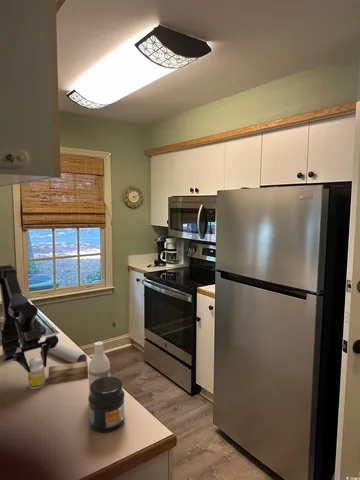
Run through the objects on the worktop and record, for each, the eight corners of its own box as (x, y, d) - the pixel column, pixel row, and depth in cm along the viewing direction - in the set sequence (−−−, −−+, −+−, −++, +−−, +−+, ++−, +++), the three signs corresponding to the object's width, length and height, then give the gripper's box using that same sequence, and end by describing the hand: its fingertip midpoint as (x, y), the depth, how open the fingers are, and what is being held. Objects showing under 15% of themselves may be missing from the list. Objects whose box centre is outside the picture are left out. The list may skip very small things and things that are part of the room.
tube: (40, 344, 146) (74, 359, 131) (50, 337, 150) (84, 351, 135) (44, 354, 148) (78, 370, 133) (54, 346, 152) (88, 361, 137)
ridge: (48, 383, 121) (48, 372, 121) (49, 375, 127) (49, 365, 127) (88, 377, 126) (88, 367, 125) (87, 369, 131) (87, 360, 131)
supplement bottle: (29, 382, 122) (28, 357, 121) (45, 380, 123) (44, 355, 122) (28, 390, 117) (26, 364, 116) (44, 387, 118) (43, 361, 117)
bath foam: (109, 406, 107) (107, 347, 105) (87, 407, 107) (85, 347, 105) (112, 394, 114) (111, 338, 112) (92, 395, 114) (90, 339, 112)
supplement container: (131, 425, 98) (130, 386, 97) (97, 439, 92) (95, 398, 91) (116, 407, 107) (115, 372, 106) (84, 419, 101) (82, 382, 100)
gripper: (2, 326, 114) (12, 368, 107) (55, 314, 127) (68, 351, 120) (-3, 341, 121) (7, 381, 114) (49, 328, 133) (61, 364, 126)
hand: (37, 369), depth 118 cm, fingers closed on supplement bottle, 5 cm apart
